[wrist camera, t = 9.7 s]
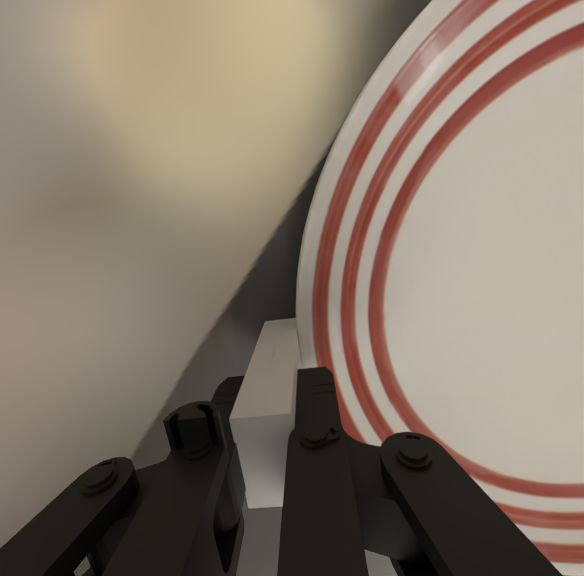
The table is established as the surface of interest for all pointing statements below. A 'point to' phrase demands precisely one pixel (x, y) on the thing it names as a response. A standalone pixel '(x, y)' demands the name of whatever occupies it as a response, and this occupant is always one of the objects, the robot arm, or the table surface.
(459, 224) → the dinner plate
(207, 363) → the table surface
